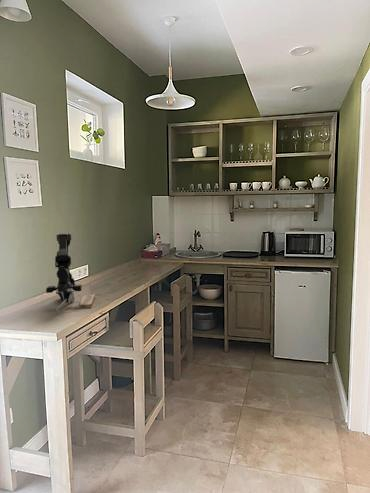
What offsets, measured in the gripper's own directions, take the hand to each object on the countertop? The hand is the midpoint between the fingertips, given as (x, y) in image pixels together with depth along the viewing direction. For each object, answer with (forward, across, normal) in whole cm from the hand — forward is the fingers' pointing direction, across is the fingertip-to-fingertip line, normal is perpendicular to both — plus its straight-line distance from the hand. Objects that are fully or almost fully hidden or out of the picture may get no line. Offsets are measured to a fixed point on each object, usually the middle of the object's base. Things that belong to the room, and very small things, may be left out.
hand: (65, 303), depth 215 cm
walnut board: (+1, +12, +3) cm, 12 cm away
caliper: (+2, 0, 0) cm, 2 cm away
